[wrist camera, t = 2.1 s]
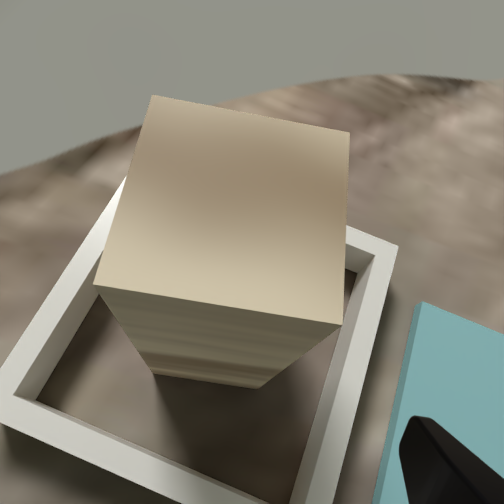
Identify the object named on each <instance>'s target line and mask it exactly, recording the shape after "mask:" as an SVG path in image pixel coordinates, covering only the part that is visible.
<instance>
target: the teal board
mask: <svg viewBox="0 0 504 504" xmlns="http://www.w3.org/2000/svg"><path fill="white" fill-rule="evenodd" d="M414 415H417V416H423V417H429V418H432V419H433V420H435V421H436V422H437V423H438V424H439V425H441V426H442V427H443V428H444V429H445V430H447V431H448V432H449V433H450V434H451V435H452V436H454V437H455V438H456V439H457V440H458V441H460V442H461V443H462V444H463V445H464V446H466V447H467V448H468V449H469V450H470V451H472V452H473V453H474V454H475V455H476V456H478V457H479V458H480V459H481V460H482V461H484V462H485V463H486V464H487V465H488V466H489V467H491V468H492V469H493V470H494V471H495V472H497V473H498V474H499V475H500V476H501V477H503V478H504V335H503V334H501V333H498V332H496V331H494V330H491V329H489V328H486V327H484V326H481V325H479V324H477V323H474V322H472V321H469V320H467V319H464V318H462V317H459V316H457V315H455V314H452V313H450V312H447V311H445V310H442V309H440V308H438V307H435V306H433V305H430V304H428V303H425V302H423V301H422V302H421V303H419V304H417V305H416V306H415V309H414V314H413V318H412V323H411V327H410V332H409V336H408V341H407V345H406V350H405V354H404V359H403V364H402V368H401V373H400V377H399V382H398V386H397V391H396V395H395V400H394V404H393V409H392V414H391V418H390V423H389V427H388V432H387V436H386V441H385V445H384V450H383V454H382V459H381V464H380V468H379V473H378V477H377V482H376V486H375V491H374V495H373V500H372V504H409V502H408V497H407V492H406V487H405V482H404V477H403V473H402V468H401V463H400V458H399V444H400V441H401V438H402V436H403V433H404V431H405V428H406V426H407V423H408V421H409V419H410V418H411V417H412V416H414Z"/></svg>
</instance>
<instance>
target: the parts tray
mask: <svg viewBox="0 0 504 504" xmlns="http://www.w3.org/2000/svg"><path fill="white" fill-rule="evenodd" d="M126 177H127V176H126ZM125 180H126V178H125V179H124V181H123V182H122V184H121V185H120V187H119V188H118V190H117V191H116V193H115V194H114V196H113V197H112V199H111V200H110V202H109V204H108V205H107V207H106V208H105V210H104V211H103V213H102V214H101V216H100V217H99V219H98V220H97V222H96V223H95V225H94V226H93V228H92V229H91V231H90V233H89V234H88V236H87V237H86V239H85V240H84V242H83V243H82V245H81V246H80V248H79V249H78V251H77V252H76V254H75V255H74V257H73V258H72V260H71V262H70V263H69V265H68V266H67V268H66V269H65V271H64V272H63V274H62V275H61V277H60V278H59V280H58V281H57V283H56V284H55V286H54V288H53V289H52V291H51V292H50V294H49V295H48V297H47V298H46V300H45V301H44V303H43V304H42V306H41V307H40V309H39V310H38V312H37V313H36V315H35V317H34V318H33V320H32V321H31V323H30V324H29V326H28V327H27V329H26V330H25V332H24V333H23V335H22V336H21V338H20V339H19V341H18V342H17V344H16V346H15V347H14V349H13V350H12V352H11V353H10V355H9V356H8V358H7V359H6V361H5V362H4V364H3V365H2V367H1V368H0V423H2V424H5V425H7V426H9V427H11V428H14V429H16V430H18V431H20V432H23V433H25V434H27V435H29V436H32V437H34V438H36V439H38V440H41V441H43V442H45V443H47V444H50V445H52V446H54V447H56V448H59V449H61V450H63V451H65V452H68V453H70V454H72V455H74V456H76V457H79V458H81V459H83V460H85V461H88V462H90V463H92V464H94V465H97V466H99V467H101V468H103V469H106V470H108V471H110V472H112V473H115V474H117V475H119V476H121V477H124V478H126V479H128V480H130V481H133V482H135V483H137V484H139V485H142V486H144V487H146V488H148V489H151V490H153V491H155V492H157V493H159V494H162V495H164V496H166V497H168V498H171V499H173V500H175V501H177V502H180V503H182V504H270V503H267V502H265V501H263V500H261V499H258V498H256V497H254V496H252V495H249V494H247V493H245V492H243V491H240V490H238V489H236V488H233V487H231V486H229V485H227V484H224V483H222V482H220V481H218V480H215V479H213V478H211V477H209V476H206V475H204V474H202V473H199V472H197V471H195V470H193V469H190V468H188V467H186V466H184V465H181V464H179V463H177V462H175V461H172V460H170V459H168V458H165V457H163V456H161V455H159V454H156V453H154V452H152V451H150V450H147V449H145V448H143V447H141V446H138V445H136V444H134V443H131V442H129V441H127V440H125V439H122V438H120V437H118V436H116V435H113V434H111V433H109V432H107V431H104V430H102V429H100V428H97V427H95V426H93V425H91V424H88V423H86V422H84V421H82V420H79V419H77V418H75V417H73V416H70V415H68V414H66V413H63V412H61V411H59V410H57V409H54V408H52V407H50V406H48V405H45V404H43V403H41V402H39V401H36V399H37V397H38V395H39V394H40V392H41V390H42V389H43V387H44V385H45V384H46V382H47V380H48V378H49V377H50V375H51V373H52V372H53V370H54V368H55V367H56V365H57V363H58V362H59V360H60V358H61V357H62V355H63V353H64V352H65V350H66V348H67V347H68V345H69V343H70V342H71V340H72V338H73V337H74V335H75V333H76V332H77V330H78V328H79V326H80V325H81V323H82V321H83V320H84V318H85V316H86V315H87V313H88V311H89V310H90V308H91V306H92V305H93V303H94V301H95V300H96V298H97V296H98V295H99V293H98V291H97V290H96V288H95V287H94V285H93V282H94V279H95V276H96V272H97V269H98V266H99V263H100V260H101V256H102V253H103V250H104V247H105V244H106V241H107V237H108V234H109V231H110V228H111V225H112V221H113V218H114V215H115V212H116V209H117V205H118V202H119V199H120V196H121V193H122V190H123V186H124V183H125ZM397 250H398V246H396V245H394V244H391V243H389V242H387V241H384V240H382V239H379V238H377V237H374V236H372V235H369V234H367V233H364V232H362V231H359V230H357V229H354V228H352V227H350V226H347V225H346V246H345V268H346V269H348V270H351V271H353V272H356V273H357V277H356V280H355V283H354V287H353V290H352V293H351V297H350V300H349V304H348V307H347V310H346V314H345V317H344V320H343V325H342V327H341V330H340V334H339V337H338V340H337V344H336V347H335V350H334V354H333V357H332V360H331V364H330V367H329V371H328V374H327V377H326V381H325V384H324V387H323V391H322V394H321V397H320V401H319V404H318V407H317V411H316V414H315V417H314V421H313V424H312V428H311V431H310V434H309V438H308V441H307V444H306V448H305V451H304V454H303V458H302V461H301V464H300V468H299V471H298V474H297V478H296V481H295V485H294V488H293V491H292V495H291V498H290V501H289V504H332V503H333V499H334V495H335V491H336V487H337V484H338V480H339V476H340V472H341V468H342V464H343V460H344V456H345V452H346V449H347V445H348V441H349V437H350V433H351V429H352V425H353V421H354V417H355V414H356V410H357V406H358V402H359V398H360V394H361V390H362V386H363V382H364V379H365V375H366V371H367V367H368V363H369V359H370V355H371V351H372V347H373V344H374V340H375V336H376V332H377V328H378V324H379V320H380V316H381V312H382V309H383V305H384V301H385V297H386V293H387V289H388V285H389V281H390V277H391V274H392V270H393V266H394V262H395V258H396V254H397Z"/></svg>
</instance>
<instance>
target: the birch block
mask: <svg viewBox="0 0 504 504" xmlns="http://www.w3.org/2000/svg"><path fill="white" fill-rule="evenodd" d="M349 138H350V133H349V132H343V131H338V130H333V129H328V128H323V127H317V126H312V125H307V124H302V123H297V122H291V121H286V120H281V119H276V118H271V117H266V116H260V115H255V114H250V113H245V112H240V111H234V110H229V109H224V108H219V107H214V106H208V105H203V104H198V103H193V102H188V101H182V100H177V99H171V98H167V97H162V96H157V95H152V97H151V101H150V104H149V107H148V110H147V113H146V117H145V120H144V123H143V126H142V129H141V132H140V135H139V139H138V142H137V145H136V148H135V151H134V155H133V158H132V161H131V164H130V167H129V170H128V174H127V177H126V180H125V183H124V186H123V190H122V193H121V196H120V199H119V202H118V205H117V209H116V212H115V215H114V218H113V221H112V225H111V228H110V231H109V234H108V237H107V241H106V244H105V247H104V250H103V253H102V256H101V260H100V263H99V266H98V269H97V272H96V276H95V279H94V282H93V285H94V287H95V288H96V290H97V291H98V293H99V294H100V296H101V297H102V299H103V300H104V302H105V303H106V305H107V306H108V308H109V309H110V311H111V312H112V314H113V315H114V316H115V318H116V319H117V321H118V322H119V324H120V325H121V327H122V328H123V330H124V331H125V333H126V334H127V336H128V337H129V339H130V340H131V342H132V343H133V345H134V346H135V348H136V349H137V351H138V352H139V354H140V355H141V357H142V358H143V360H144V361H145V363H146V364H147V365H148V367H149V368H150V370H151V371H152V373H153V374H160V375H166V376H173V377H180V378H186V379H193V380H199V381H206V382H213V383H219V384H226V385H232V386H239V387H245V388H252V389H259V388H260V387H261V386H263V385H264V384H265V383H266V382H268V381H269V380H270V379H272V378H273V377H274V376H276V375H277V374H278V373H280V372H281V371H282V370H284V369H285V368H286V367H288V366H289V365H290V364H292V363H293V362H294V361H296V360H297V359H298V358H300V357H301V356H302V355H304V354H305V353H306V352H308V351H309V350H310V349H312V348H313V347H314V346H316V345H317V344H318V343H319V342H321V341H322V340H323V339H325V338H326V337H327V336H329V335H330V334H331V333H333V332H334V331H335V330H337V329H338V328H339V327H341V326H342V325H343V300H344V273H345V246H346V219H347V192H348V165H349Z"/></svg>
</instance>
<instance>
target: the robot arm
mask: <svg viewBox="0 0 504 504" xmlns="http://www.w3.org/2000/svg"><path fill="white" fill-rule="evenodd" d="M399 458H400V463H401V468H402V473H403V477H404V482H405V487H406V492H407V497H408V502H409V504H504V478H503V477H501V476H500V475H499V474H498V473H497V472H495V471H494V470H493V469H492V468H491V467H489V466H488V465H487V464H486V463H485V462H484V461H482V460H481V459H480V458H479V457H478V456H476V455H475V454H474V453H473V452H472V451H470V450H469V449H468V448H467V447H466V446H464V445H463V444H462V443H461V442H460V441H458V440H457V439H456V438H455V437H454V436H452V435H451V434H450V433H449V432H448V431H447V430H445V429H444V428H443V427H442V426H441V425H439V424H438V423H437V422H436V421H435V420H433V419H432V418H429V417H423V416H417V415H414V416H412V417H411V418H410V419H409V421H408V423H407V426H406V428H405V431H404V433H403V436H402V438H401V441H400V444H399Z"/></svg>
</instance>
